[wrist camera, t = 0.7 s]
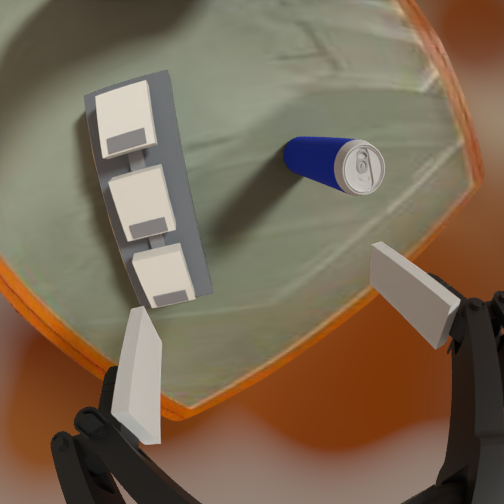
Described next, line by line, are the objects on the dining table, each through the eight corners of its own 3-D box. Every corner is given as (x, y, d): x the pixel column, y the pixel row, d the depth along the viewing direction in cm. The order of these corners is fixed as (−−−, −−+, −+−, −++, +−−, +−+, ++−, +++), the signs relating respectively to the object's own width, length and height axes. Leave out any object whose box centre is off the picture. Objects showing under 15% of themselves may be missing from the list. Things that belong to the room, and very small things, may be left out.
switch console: (92, 100, 26) (78, 96, 22) (170, 77, 27) (167, 68, 23) (142, 293, 38) (138, 311, 33) (210, 278, 39) (213, 295, 35)
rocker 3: (134, 251, 30) (131, 262, 28) (179, 240, 30) (180, 251, 28) (153, 296, 33) (152, 309, 31) (194, 287, 34) (195, 299, 32)
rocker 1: (102, 101, 23) (94, 95, 21) (149, 86, 24) (145, 79, 21) (109, 159, 25) (102, 158, 23) (158, 145, 26) (154, 142, 23)
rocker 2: (113, 176, 26) (107, 182, 24) (161, 162, 27) (159, 168, 24) (131, 232, 30) (127, 242, 28) (176, 221, 30) (175, 230, 28)
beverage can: (319, 170, 36) (387, 194, 23) (284, 176, 35) (341, 202, 22) (315, 134, 34) (385, 138, 20) (279, 138, 33) (336, 142, 20)
